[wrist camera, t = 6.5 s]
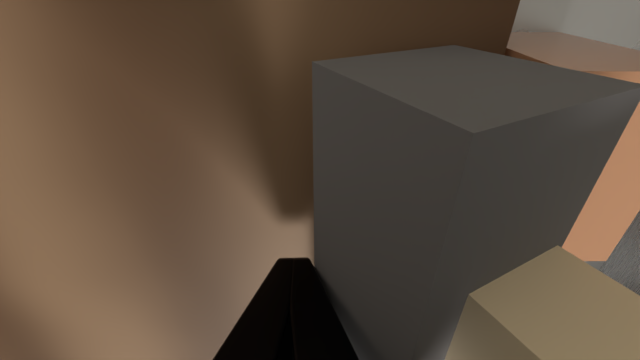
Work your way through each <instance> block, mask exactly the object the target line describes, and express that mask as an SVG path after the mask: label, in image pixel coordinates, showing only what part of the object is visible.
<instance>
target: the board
mask: <svg viewBox="0 0 640 360" xmlns="http://www.w3.org/2000/svg"><path fill="white" fill-rule="evenodd" d="M519 3H520V0H0V360H213V358H214V357H215V355H216V353H217V352H218V350H219V349H220V347H221V346H222V344H223V343H224V341H225V340H226V338H227V336H228V335H229V333H230V332H231V330H232V329H233V327H234V326H235V324H236V323H237V321H238V320H239V318H240V316H241V315H242V313H243V312H244V310H245V309H246V307H247V306H248V304H249V303H250V301H251V299H252V298H253V296H254V295H255V293H256V292H257V290H258V289H259V287H260V286H261V284H262V282H263V281H264V279H265V278H266V276H267V275H268V273H269V272H270V270H271V269H272V267H273V266H274V264H275V262H276V261H277V260H278V259H279V258H298V257H308V258H309V259H310V260H311V262H312V264H313V266H314V193H313V105H312V61H321V60H329V59H338V58H346V57H355V56H363V55H372V54H381V53H389V52H398V51H406V50H415V49H423V48H432V47H440V46H449V45H457V46H462V47H467V48H472V49H476V50H481V51H486V52H491V53H496V54H500V55H505V51H506V48H507V44H508V41H509V37H510V34H511V31H512V27H513V24H514V20H515V17H516V13H517V10H518V7H519Z"/></svg>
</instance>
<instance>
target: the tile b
mask: <svg viewBox="0 0 640 360" xmlns="http://www.w3.org/2000/svg"><path fill="white" fill-rule="evenodd" d="M505 56H510V57H515V58H520V59H524V60H529V61H534V62H539V63H543V64H548V65H553V66H558V67H563V68H567V69H572V70H577V71H582V72H587V73H591V74H596V75H601V76H606V77H610V78H615V79H620V80H625V81H630V82H634V83H639V84H640V51H639V50H635V49H631V48H627V47H622V46H618V45H614V44H609V43H605V42H601V41H596V40H592V39H588V38H583V37H579V36H575V35H570V34H566V33H562V32H511V34H510V37H509V41H508V44H507V48H506V51H505ZM639 210H640V101H639V103H638V105H637V107H636V109H635V111H634V113H633V115H632V116H631V118H630V120H629V122H628V124H627V126H626V128H625V130H624V131H623V133H622V135H621V137H620V139H619V141H618V143H617V145H616V146H615V148H614V150H613V152H612V154H611V156H610V158H609V160H608V161H607V163H606V165H605V167H604V169H603V171H602V173H601V175H600V176H599V178H598V180H597V182H596V184H595V186H594V188H593V190H592V191H591V193H590V195H589V197H588V199H587V201H586V203H585V205H584V207H583V208H582V210H581V212H580V214H579V216H578V218H577V220H576V222H575V223H574V225H573V227H572V229H571V231H570V233H569V235H568V237H567V238H566V240H565V242H564V244H563V246H562V248H563V249H564V250H566V251H568V252H569V253H571V254H573V255H574V256H576V257H577V258H579V259H581V260H582V261H607V259H608V258H609V256H610V255H611V253H612V251H613V250H614V248H615V247H616V245H617V244H618V242H619V241H620V239H621V238H622V236H623V235H624V233H625V232H626V230H627V229H628V227H629V226H630V224H631V223H632V221H633V220H634V218H635V216H636V215H637V213H638V212H639Z"/></svg>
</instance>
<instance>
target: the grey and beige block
mask: <svg viewBox="0 0 640 360" xmlns="http://www.w3.org/2000/svg"><path fill="white" fill-rule="evenodd" d="M639 101H640V84H639V83H634V82H630V81H625V80H620V79H615V78H610V77H606V76H601V75H596V74H591V73H587V72H582V71H577V70H572V69H567V68H563V67H558V66H553V65H548V64H543V63H539V62H534V61H529V60H524V59H520V58H515V57H510V56H505V55H500V54H496V53H491V52H486V51H481V50H476V49H472V48H467V47H462V46H457V45H449V46H440V47H432V48H423V49H415V50H406V51H398V52H389V53H381V54H372V55H363V56H355V57H346V58H338V59H329V60H321V61H312V105H313V193H314V268H315V270H316V272H317V274H318V276H319V278H320V280H321V283H322V285H323V287H324V289H325V291H326V293H327V295H328V297H329V299H330V301H331V303H332V305H333V307H334V309H335V311H336V313H337V315H338V317H339V319H340V321H341V323H342V325H343V328H344V330H345V332H346V334H347V336H348V338H349V340H350V342H351V344H352V346H353V348H354V350H355V352H356V354H357V356H358V358H359V360H640V296H639V295H638V294H636V293H635V292H633V291H631V290H630V289H628V288H626V287H625V286H623V285H622V284H620V283H618V282H617V281H615V280H613V279H612V278H610V277H608V276H607V275H605V274H604V273H602V272H600V271H599V270H597V269H595V268H594V267H592V266H591V265H589V264H587V263H586V262H584V261H582V260H581V259H579V258H577V257H576V256H574V255H573V254H571V253H569V252H568V251H566V250H564V249H563V248H562V246H563V244H564V242H565V240H566V238H567V237H568V235H569V233H570V231H571V229H572V227H573V225H574V223H575V222H576V220H577V218H578V216H579V214H580V212H581V210H582V208H583V207H584V205H585V203H586V201H587V199H588V197H589V195H590V193H591V191H592V190H593V188H594V186H595V184H596V182H597V180H598V178H599V176H600V175H601V173H602V171H603V169H604V167H605V165H606V163H607V161H608V160H609V158H610V156H611V154H612V152H613V150H614V148H615V146H616V145H617V143H618V141H619V139H620V137H621V135H622V133H623V131H624V130H625V128H626V126H627V124H628V122H629V120H630V118H631V116H632V115H633V113H634V111H635V109H636V107H637V105H638V103H639Z"/></svg>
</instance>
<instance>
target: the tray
mask: <svg viewBox="0 0 640 360" xmlns="http://www.w3.org/2000/svg"><path fill="white" fill-rule="evenodd" d="M511 32H562V33H566V34H570V35H575V36H579V37H583V38H588V39H592V40H596V41H601V42H605V43H609V44H614V45H618V46H622V47H627V48H631V49H635V50H639V51H640V0H520V3H519V7H518V10H517V13H516V17H515V20H514V24H513V27H512V31H511ZM584 262H586V263H587V264H589V265H591V266H592V267H594V268H595V269H597V270H599V271H600V272H602V273H604V274H605V275H607V276H608V277H610V278H612V279H613V280H615V281H617V282H618V283H620V284H622V285H623V286H625V287H626V288H628V289H630V290H631V291H633V292H635V293H636V294H638V295H639V296H640V210H639V212H638V213H637V215H636V216H635V218H634V220H633V221H632V223H631V224H630V226H629V227H628V229H627V230H626V232H625V233H624V235H623V236H622V238H621V239H620V241H619V242H618V244H617V245H616V247H615V248H614V250H613V251H612V253H611V255H610V256H609V258H608V259H607V261H584Z"/></svg>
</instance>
